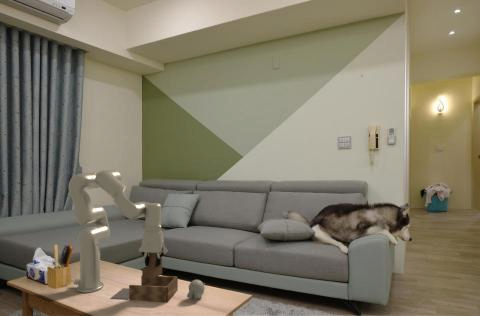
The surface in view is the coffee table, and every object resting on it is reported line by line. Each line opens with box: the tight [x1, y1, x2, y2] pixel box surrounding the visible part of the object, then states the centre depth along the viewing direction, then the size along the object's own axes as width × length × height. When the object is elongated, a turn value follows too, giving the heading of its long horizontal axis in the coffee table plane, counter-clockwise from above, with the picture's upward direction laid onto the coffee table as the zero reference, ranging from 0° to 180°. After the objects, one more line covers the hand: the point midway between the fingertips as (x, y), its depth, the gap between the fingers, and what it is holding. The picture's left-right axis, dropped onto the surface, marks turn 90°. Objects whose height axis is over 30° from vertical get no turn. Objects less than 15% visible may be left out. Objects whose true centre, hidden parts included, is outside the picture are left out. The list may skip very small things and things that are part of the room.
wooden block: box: [141, 250, 163, 280], centre depth 158 cm, size 9×4×18 cm, turn 148°
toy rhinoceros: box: [186, 279, 206, 300], centre depth 155 cm, size 7×12×8 cm, turn 160°
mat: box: [110, 287, 129, 301], centre depth 159 cm, size 9×12×1 cm
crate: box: [128, 275, 179, 303], centre depth 157 cm, size 19×14×7 cm
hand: (152, 265), depth 158 cm, fingers closed on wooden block, 5 cm apart
